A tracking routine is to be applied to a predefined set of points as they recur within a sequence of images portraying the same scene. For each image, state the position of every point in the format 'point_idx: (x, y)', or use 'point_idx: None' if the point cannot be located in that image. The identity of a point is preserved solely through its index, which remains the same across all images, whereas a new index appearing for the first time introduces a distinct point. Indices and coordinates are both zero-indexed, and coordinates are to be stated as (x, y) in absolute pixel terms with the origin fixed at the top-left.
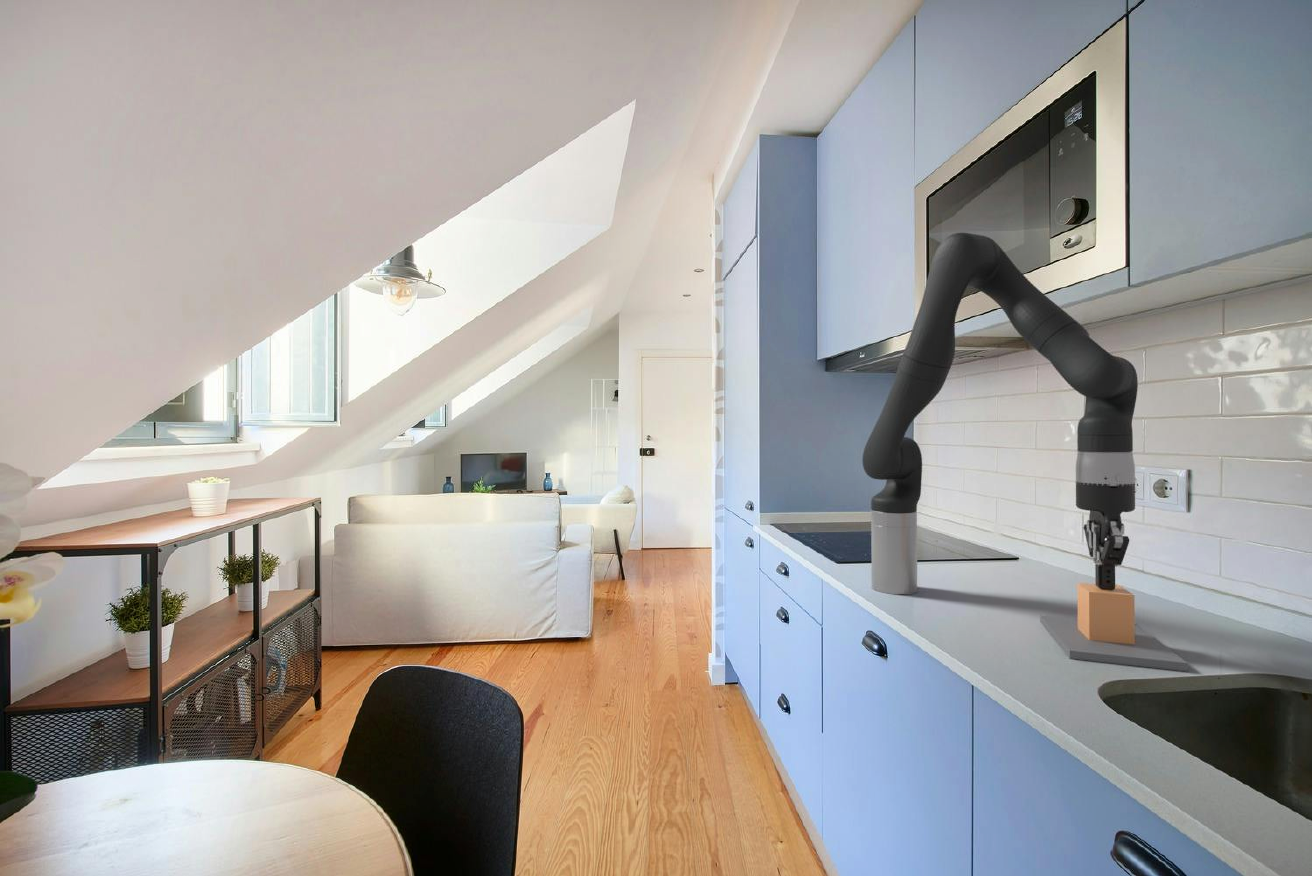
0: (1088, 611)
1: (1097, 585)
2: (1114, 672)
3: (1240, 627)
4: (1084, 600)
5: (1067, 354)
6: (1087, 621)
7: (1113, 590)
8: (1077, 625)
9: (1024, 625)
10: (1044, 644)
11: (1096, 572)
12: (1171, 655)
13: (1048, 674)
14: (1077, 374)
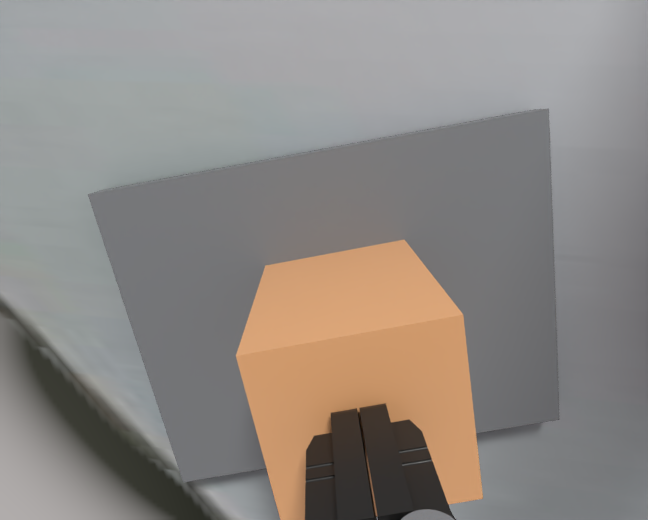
0: (260, 305)
1: (348, 412)
2: (70, 302)
3: None
4: (320, 309)
5: None
6: (280, 284)
7: None
8: (446, 241)
9: (469, 45)
10: (239, 115)
11: (376, 466)
12: (233, 459)
13: None
14: None
